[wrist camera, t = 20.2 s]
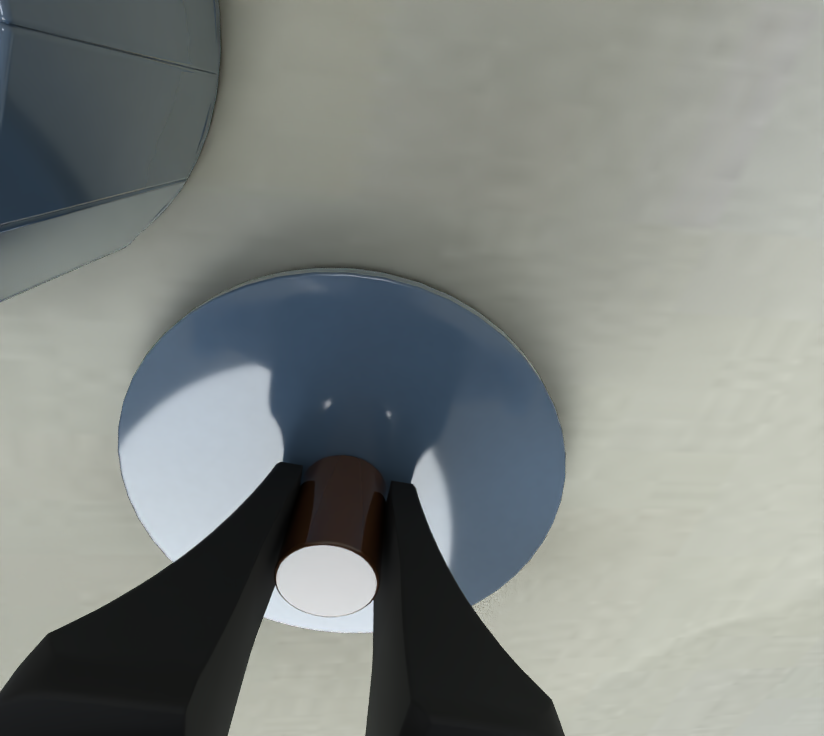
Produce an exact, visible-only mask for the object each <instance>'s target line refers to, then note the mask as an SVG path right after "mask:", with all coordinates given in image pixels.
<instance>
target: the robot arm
mask: <svg viewBox="0 0 824 736" xmlns="http://www.w3.org/2000/svg"><path fill="white" fill-rule="evenodd" d="M302 470H303V465H298V464H292V463H286V462H279V463H277V464H276V465H275V466H274V468H273V469H272V470H271V472H270V473H269V474H268V476H267V477H266V478H265V479H264V480H263V482H262V483H261V484H260V485H259V486H258V487H257V488H256V489H255V491H254V492H253V493H252V494H251V495H250V496H249V497H248V498H247V499H246V500H245V501H244V502H243V503H242V504H241V505H240V506H239V507H238V508H237V509H236V510H235V511H234V512H233V513H232V514H231V515H230V516H229V517H228V518H227V519H226V520H225V521H224V522H223V523H221V524H220V525H219V526H218V527H217V528H216V529H215V530H214V531H213V532H212V533H210V534H209V535H208V536H207V537H206V538H204V539H203V540H202V541H201V542H200V543H198V544H197V545H196V546H195V547H193V548H192V549H191V550H190V551H188V552H187V553H186V554H184V555H183V556H182V557H180V558H179V559H178V560H176V561H175V562H173V563H172V564H170V565H169V566H168V567H166V568H165V569H163V570H162V571H160V572H159V573H158V574H156V575H155V576H153V577H152V578H150V579H148V580H147V581H145V582H144V583H142V584H141V585H139V586H137V587H135V588H134V589H132V590H130V591H129V592H127V593H125V594H124V595H122V596H120V597H118V598H117V599H115V600H113V601H112V602H110V603H108V604H107V605H105V606H103V607H101V608H99V609H97V610H95V611H93V612H91V613H89V614H87V615H85V616H83V617H81V618H79V619H77V620H75V621H73V622H71V623H69V624H67V625H65V626H63V627H61V628H59V629H57V630H55V631H53V632H50V633H48V634H47V635H46V636H45V637H44V639H43V640H42V641H41V642H40V643H39V644H38V645H37V646H36V647H35V649H34V650H33V651H32V652H31V653H30V654H29V655H28V656H27V658H26V659H25V660H24V661H23V662H22V663H21V664H20V666H19V667H18V668H17V670H16V671H15V672H14V674H13V675H12V676H11V678H10V679H9V681H8V682H7V683H6V685H5V686H4V687H3V689H2V690H1V692H0V736H228V732H229V728H230V725H231V721H232V717H233V714H234V710H235V706H236V703H237V699H238V696H239V692H240V688H241V685H242V681H243V678H244V674H245V671H246V667H247V663H248V660H249V656H250V653H251V650H252V647H253V644H254V641H255V638H256V635H257V632H258V630H259V627H260V624H261V622H262V619H263V617H264V614H265V611H266V609H267V606H268V603H269V601H270V598H271V596H272V593H273V590H274V588H275V582H274V569H275V565H276V562H277V559H278V555H279V552H280V549H281V546H282V542H283V539H284V536H285V533H286V529H287V526H288V523H289V520H290V517H291V514H292V511H293V508H294V505H295V501H296V498H297V495H298V492H299V488H300V484H301V477H302ZM365 736H565V735H564V732H563V729H562V726H561V723H560V721H559V718H558V715H557V712H556V710H555V707H554V704H553V702H552V700H551V699H550V697H549V696H548V695H547V694H546V693H545V692H544V691H543V690H542V689H541V688H540V687H539V686H538V685H537V684H536V683H535V682H534V681H533V680H532V679H531V678H530V677H529V676H528V675H527V674H526V673H525V672H524V671H523V670H522V669H521V668H520V667H519V666H518V665H517V664H516V663H515V662H514V660H513V659H512V658H511V657H510V656H509V655H508V654H507V652H506V651H505V650H504V649H503V648H502V647H501V645H500V644H499V643H498V641H497V640H496V639H495V638H494V636H493V635H492V634H491V632H490V631H489V630H488V628H487V627H486V626H485V625H484V623H483V622H482V621H481V619H480V618H479V616H478V615H477V614H476V612H475V611H474V609H473V608H472V606H471V605H470V603H469V602H468V600H467V599H466V597H465V595H464V594H463V592H462V591H461V589H460V587H459V586H458V584H457V582H456V581H455V579H454V577H453V575H452V573H451V572H450V570H449V568H448V566H447V564H446V562H445V560H444V558H443V556H442V554H441V552H440V550H439V548H438V546H437V543H436V541H435V539H434V537H433V534H432V532H431V530H430V527H429V525H428V522H427V520H426V517H425V514H424V512H423V509H422V506H421V503H420V500H419V497H418V493H417V490H416V487H415V486H414V484H410V483H404V482H398V481H392V480H391V484H390V488H389V492H388V496H387V500H386V509H385V523H384V538H383V553H382V567H381V582H380V588H379V591H378V593H377V595H376V596H375V598H374V599H373V662H372V676H371V686H370V696H369V706H368V716H367V725H366V735H365Z"/></svg>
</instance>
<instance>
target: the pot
mask: <svg viewBox="0 0 824 736" xmlns="http://www.w3.org/2000/svg"><path fill="white" fill-rule="evenodd" d="M220 57H221V44H220V9H219V1H218V0H0V302H2V301H5V300H7V299H9V298H12V297H14V296H16V295H18V294H21V293H23V292H25V291H27V290H30V289H32V288H34V287H37V286H39V285H41V284H43V283H46V282H48V281H50V280H52V279H55V278H57V277H59V276H62V275H64V274H66V273H68V272H71V271H73V270H75V269H78V268H80V267H82V266H84V265H87V264H89V263H91V262H93V261H96V260H98V259H100V258H103V257H105V256H107V255H109V254H112V253H114V252H116V251H118V250H121V249H123V248H125V247H126V246H127V245H129V244H131V242H132V241H133V240H134V239H135V238H136V237H137V236H138V235H139V234H140V233H141V232H143V231H144V230H145V229H146V228H147V227H148V226H149V225H150V224H151V223H152V222H154V221H155V220H156V219H157V218H158V217H159V216H160V215H161V214H162V213H163V212H164V211H165V210H166V209H167V207H168V206H169V205H170V203H171V202H172V201H173V200H174V198H175V197H176V196H177V194H178V193H179V192H180V191H181V189H182V188H183V186H184V184H185V183H186V181H187V179H188V177H189V176H190V173H191V171H192V170H193V168H194V166H195V164H196V162H197V160H198V158H199V155H200V152H201V150H202V147H203V144H204V142H205V139H206V136H207V134H208V131H209V127H210V123H211V118H212V114H213V109H214V105H215V101H216V96H217V89H218V78H219V67H220Z"/></svg>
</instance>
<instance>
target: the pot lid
mask: <svg viewBox="0 0 824 736" xmlns="http://www.w3.org/2000/svg"><path fill="white" fill-rule="evenodd" d="M118 455H119V462H120V469H121V475H122V478H123V482H124V485H125V488H126V491H127V495H128V498H129V500H130V502H131V504H132V506H133V508H134V510H135V512H136V515H137V517H138V519H139V520H140V522H141V523H142V525H143V526H144V528H145V529H146V531H147V533H148V534H149V536H150V537H151V539H152V540H153V541H154V542H155V543H156V545H157V546H158V547H159V548H160V549H161V551H162V552H163V553H164V554H165V555H166V556H167V558H169V559H170V560H171V561H172V562H175V561H176V560H178V559H179V558H180V557H182V556H183V555H184V554H186V553H187V552H188V551H190V550H191V549H192V548H193V547H195V546H196V545H197V544H198V543H200V542H201V541H202V540H203V539H204V538H206V537H207V536H208V535H209V534H210V533H212V532H213V531H214V530H215V529H216V528H217V527H218V526H219V525H220V524H221V523H223V522H224V521H225V520H226V519H227V518H228V517H229V516H230V515H231V514H232V513H233V512H234V511H235V510H236V509H237V508H238V507H239V506H240V505H241V504H242V503H243V502H244V501H245V500H246V499H247V498H248V497H249V496H250V495H251V494H252V493H253V492H254V491H255V489H256V488H257V487H258V486H259V485H260V484H261V483H262V482H263V480H264V479H265V478H266V477H267V476H268V474H269V473H270V472H271V470H272V469H273V468H274V466H275V465H276V464H277V463H279V462H286V463H292V464H298V465H303V470H302V477H301V484H300V488H299V492H298V495H297V498H296V501H295V505H294V508H293V511H292V514H291V517H290V520H289V523H288V526H287V529H286V533H285V536H284V539H283V542H282V546H281V549H280V552H279V555H278V559H277V562H276V565H275V569H274V582H275V588H274V590H273V593H272V596H271V598H270V601H269V603H268V606H267V609H266V611H265V614H264V617H263V618H266V619H269V620H272V621H276V622H279V623H283V624H287V625H290V626H294V627H300V628H305V629H311V630H316V631H326V632H337V633H373V599H374V598H375V596H376V595H377V593H378V591H379V588H380V582H381V567H382V553H383V538H384V523H385V509H386V500H387V496H388V492H389V488H390V484H391V480H392V481H398V482H404V483H410V484H414V486H415V487H416V490H417V493H418V497H419V500H420V503H421V506H422V509H423V512H424V514H425V517H426V520H427V522H428V525H429V527H430V530H431V532H432V534H433V537H434V539H435V541H436V543H437V546H438V548H439V550H440V552H441V554H442V556H443V558H444V560H445V562H446V564H447V566H448V568H449V570H450V572H451V573H452V575H453V577H454V579H455V581H456V582H457V584H458V586H459V587H460V589H461V591H462V592H463V594H464V595H465V597H466V599H467V600H468V602H469V603H470V605H471V606H472V605H474V604H476V603H478V602H480V601H481V600H483V599H484V598H486V597H488V596H489V595H491V594H492V593H494V592H495V591H497V590H498V589H499V588H501V587H502V586H503V585H504V584H505V583H507V582H508V581H509V580H510V579H512V578H513V577H514V576H515V575H516V574H517V573H518V572H519V571H520V570H521V569H522V568H523V567H524V566H525V565H526V564H527V563H528V561H529V560H530V559H531V558H532V556H533V555H534V554H535V552H536V551H537V550H538V548H539V547H540V545H541V544H542V543H543V541H544V539H545V537H546V535H547V533H548V532H549V530H550V528H551V526H552V524H553V522H554V519H555V516H556V514H557V511H558V508H559V505H560V502H561V498H562V492H563V487H564V482H565V462H566V453H565V446H564V439H563V433H562V428H561V425H560V422H559V418H558V415H557V412H556V409H555V406H554V404H553V402H552V400H551V398H550V396H549V394H548V392H547V390H546V388H545V386H544V384H543V382H542V380H541V378H540V376H539V374H538V373H537V371H536V370H535V368H534V367H533V366H532V364H531V363H530V361H529V360H528V359H527V357H526V356H525V354H524V353H523V352H522V351H521V350H520V349H519V347H518V346H517V345H516V344H515V343H514V342H513V341H512V340H511V339H510V338H509V337H508V336H507V335H506V334H505V333H504V332H503V331H502V330H501V329H500V328H498V327H497V326H496V325H494V324H493V323H492V322H491V321H489V320H488V319H487V318H485V317H484V316H483V315H482V314H480V313H479V312H478V311H476V310H475V309H473V308H471V307H469V306H468V305H466V304H464V303H462V302H461V301H459V300H457V299H456V298H454V297H452V296H450V295H448V294H446V293H444V292H441V291H439V290H436V289H434V288H432V287H429V286H427V285H424V284H422V283H420V282H417V281H413V280H409V279H406V278H402V277H398V276H395V275H391V274H387V273H382V272H375V271H368V270H361V269H354V268H310V269H301V270H293V271H285V272H280V273H276V274H272V275H268V276H264V277H260V278H256V279H253V280H249V281H247V282H244V283H242V284H240V285H237V286H235V287H232V288H230V289H228V290H225V291H223V292H220V293H219V294H217V295H215V296H214V297H212V298H210V299H209V300H207V301H205V302H204V303H202V304H200V305H199V306H197V307H195V308H194V309H193V310H192V311H190V312H189V313H188V314H187V315H186V316H184V317H183V318H182V319H181V320H180V321H178V322H177V323H176V324H175V325H174V326H172V327H171V328H170V329H169V330H168V331H166V332H165V333H164V335H163V336H162V337H161V338H160V339H159V340H158V342H157V343H156V344H155V345H154V346H153V347H152V348H151V350H150V351H149V352H148V353H147V354H146V356H145V358H144V359H143V361H142V363H141V364H140V366H139V368H138V369H137V371H136V373H135V374H134V376H133V378H132V380H131V383H130V386H129V388H128V391H127V393H126V396H125V398H124V401H123V406H122V411H121V416H120V421H119V428H118Z"/></svg>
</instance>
